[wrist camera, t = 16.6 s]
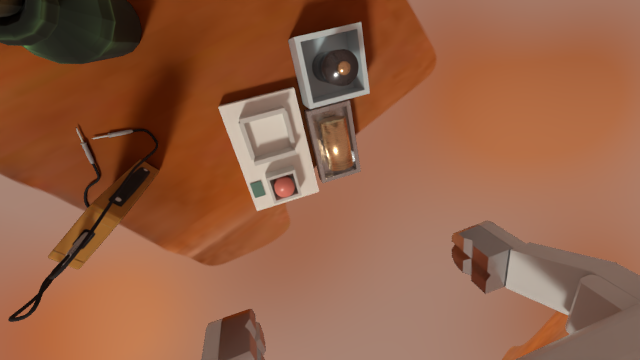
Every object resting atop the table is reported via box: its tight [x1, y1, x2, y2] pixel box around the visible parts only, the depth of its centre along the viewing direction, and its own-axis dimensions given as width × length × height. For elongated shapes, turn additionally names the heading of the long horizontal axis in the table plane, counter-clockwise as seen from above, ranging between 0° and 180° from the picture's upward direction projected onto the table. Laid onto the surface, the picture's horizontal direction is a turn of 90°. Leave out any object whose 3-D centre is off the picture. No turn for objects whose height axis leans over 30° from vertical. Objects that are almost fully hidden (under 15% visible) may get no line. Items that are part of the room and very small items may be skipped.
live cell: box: [319, 116, 353, 171], centre depth 39 cm, size 8×4×4 cm, turn 12°
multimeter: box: [9, 127, 159, 322], centre depth 26 cm, size 15×10×20 cm
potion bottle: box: [0, 0, 142, 64], centre depth 21 cm, size 8×8×18 cm
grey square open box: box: [288, 22, 370, 109], centre depth 34 cm, size 8×8×4 cm
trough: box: [304, 99, 361, 183], centre depth 40 cm, size 11×6×2 cm, turn 12°
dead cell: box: [312, 49, 359, 86], centre depth 32 cm, size 4×4×8 cm
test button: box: [274, 175, 295, 197], centre depth 38 cm, size 3×3×2 cm
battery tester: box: [218, 87, 319, 211], centre depth 38 cm, size 16×10×4 cm, turn 12°
